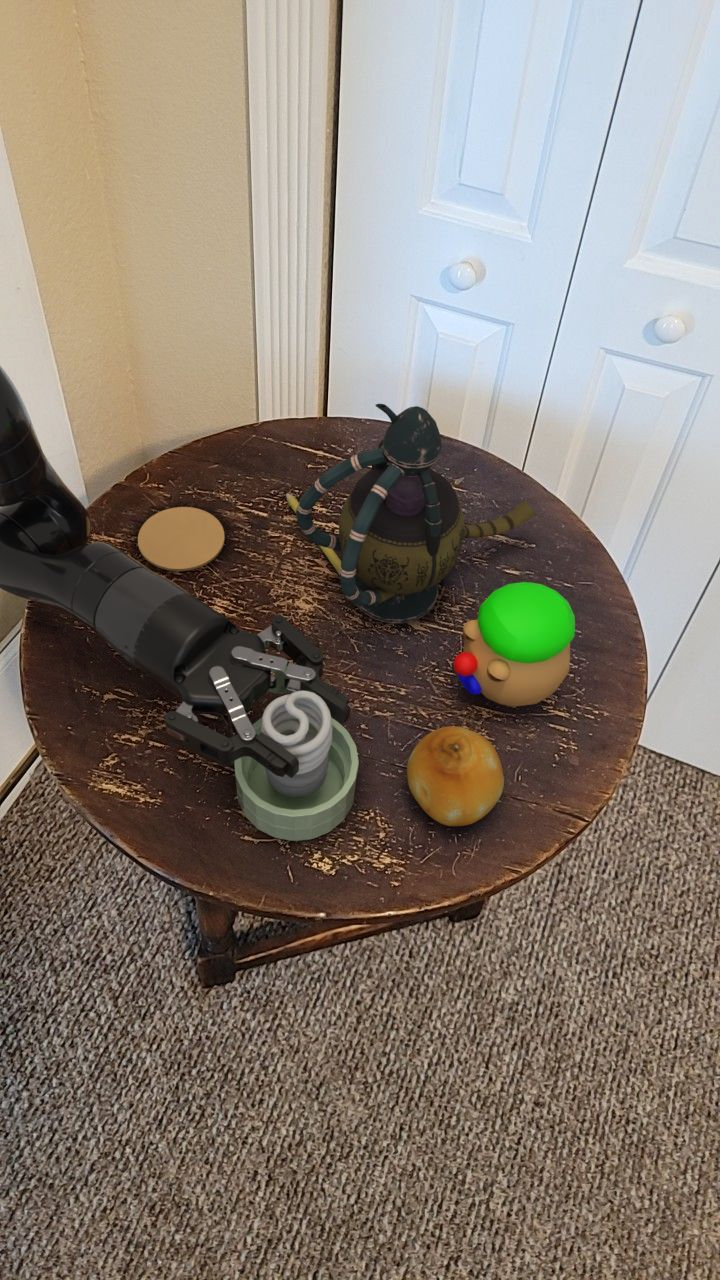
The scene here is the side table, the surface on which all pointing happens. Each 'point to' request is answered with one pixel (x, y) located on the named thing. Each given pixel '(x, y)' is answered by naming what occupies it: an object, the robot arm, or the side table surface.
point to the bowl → (301, 813)
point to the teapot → (398, 521)
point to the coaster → (181, 539)
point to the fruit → (455, 775)
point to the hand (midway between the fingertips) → (321, 741)
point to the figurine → (517, 645)
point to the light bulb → (300, 740)
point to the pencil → (327, 551)
